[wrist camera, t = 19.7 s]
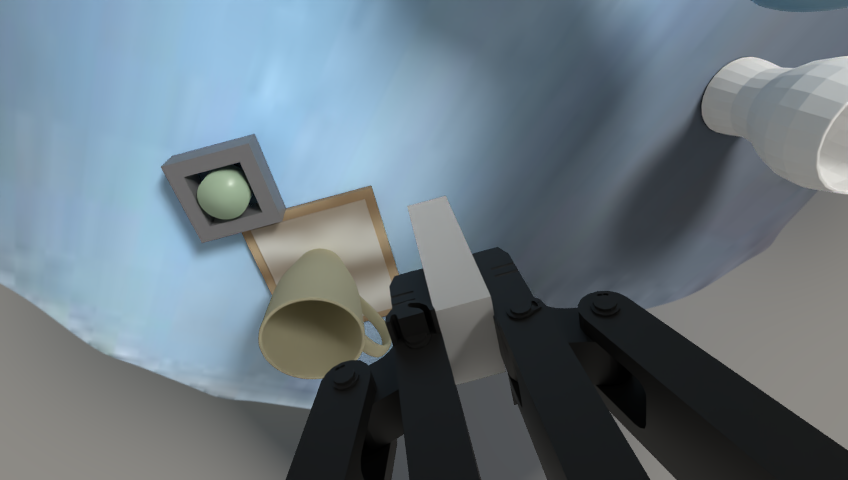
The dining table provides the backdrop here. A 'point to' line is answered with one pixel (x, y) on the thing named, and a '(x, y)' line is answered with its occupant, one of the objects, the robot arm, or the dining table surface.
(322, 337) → the mug
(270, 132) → the dining table surface
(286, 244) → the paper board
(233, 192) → the button
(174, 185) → the button housing
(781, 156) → the cup
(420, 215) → the robot arm
